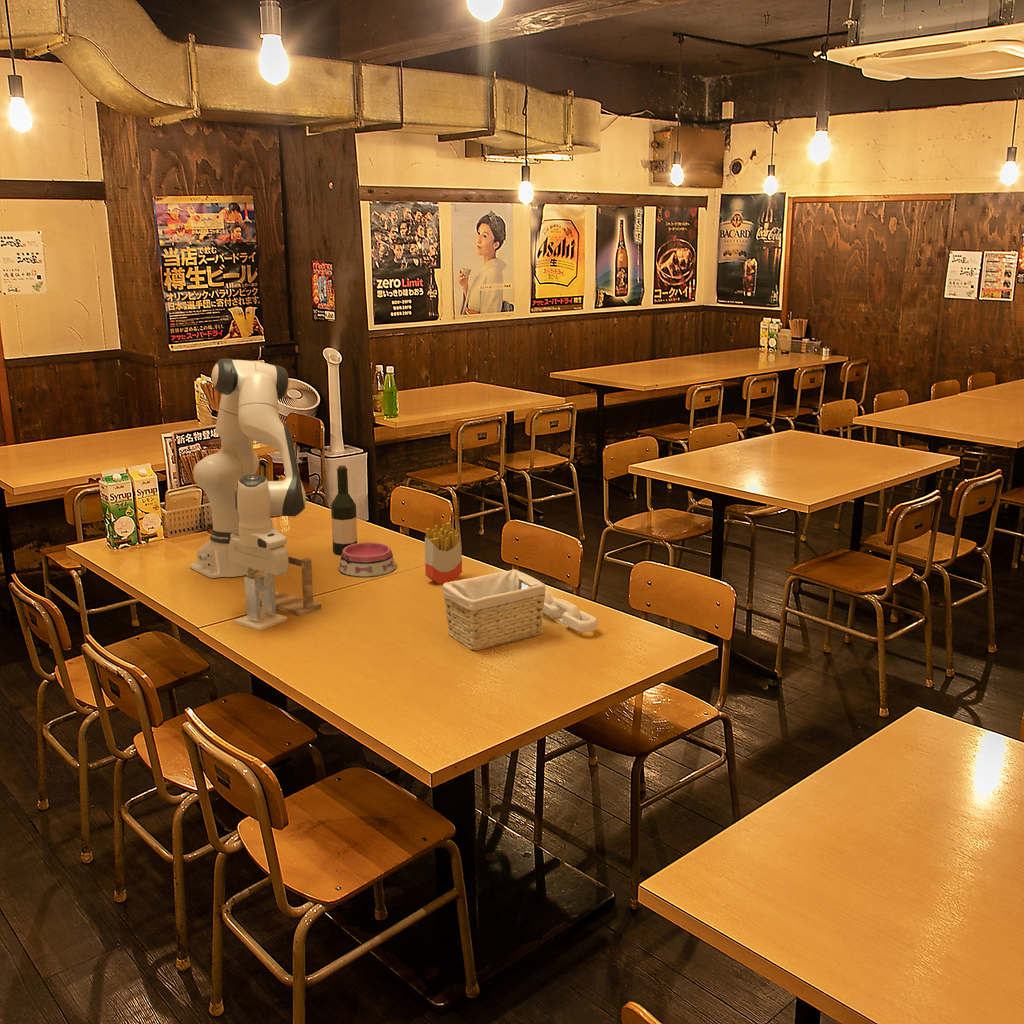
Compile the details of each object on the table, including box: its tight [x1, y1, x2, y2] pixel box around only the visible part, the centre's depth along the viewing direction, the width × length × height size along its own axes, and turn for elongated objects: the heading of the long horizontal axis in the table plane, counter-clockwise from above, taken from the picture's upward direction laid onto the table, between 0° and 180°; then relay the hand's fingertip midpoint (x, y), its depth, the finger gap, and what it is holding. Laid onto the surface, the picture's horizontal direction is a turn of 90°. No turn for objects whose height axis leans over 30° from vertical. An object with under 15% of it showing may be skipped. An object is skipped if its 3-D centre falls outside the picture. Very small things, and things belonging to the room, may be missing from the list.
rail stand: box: [260, 556, 322, 617], centre depth 277 cm, size 18×8×16 cm, turn 56°
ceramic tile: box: [234, 609, 289, 632], centre depth 267 cm, size 10×10×1 cm
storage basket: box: [442, 569, 547, 651], centre depth 257 cm, size 24×16×15 cm
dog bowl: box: [337, 541, 397, 579], centre depth 312 cm, size 18×19×7 cm
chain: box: [527, 586, 599, 633], centre depth 269 cm, size 30×6×6 cm, turn 34°
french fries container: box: [424, 521, 463, 585], centre depth 298 cm, size 5×11×18 cm, turn 127°
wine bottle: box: [330, 465, 358, 557], centre depth 325 cm, size 8×8×30 cm
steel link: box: [243, 571, 277, 621], centre depth 265 cm, size 4×7×12 cm, turn 146°
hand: (259, 584), depth 264 cm, fingers closed on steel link, 4 cm apart
